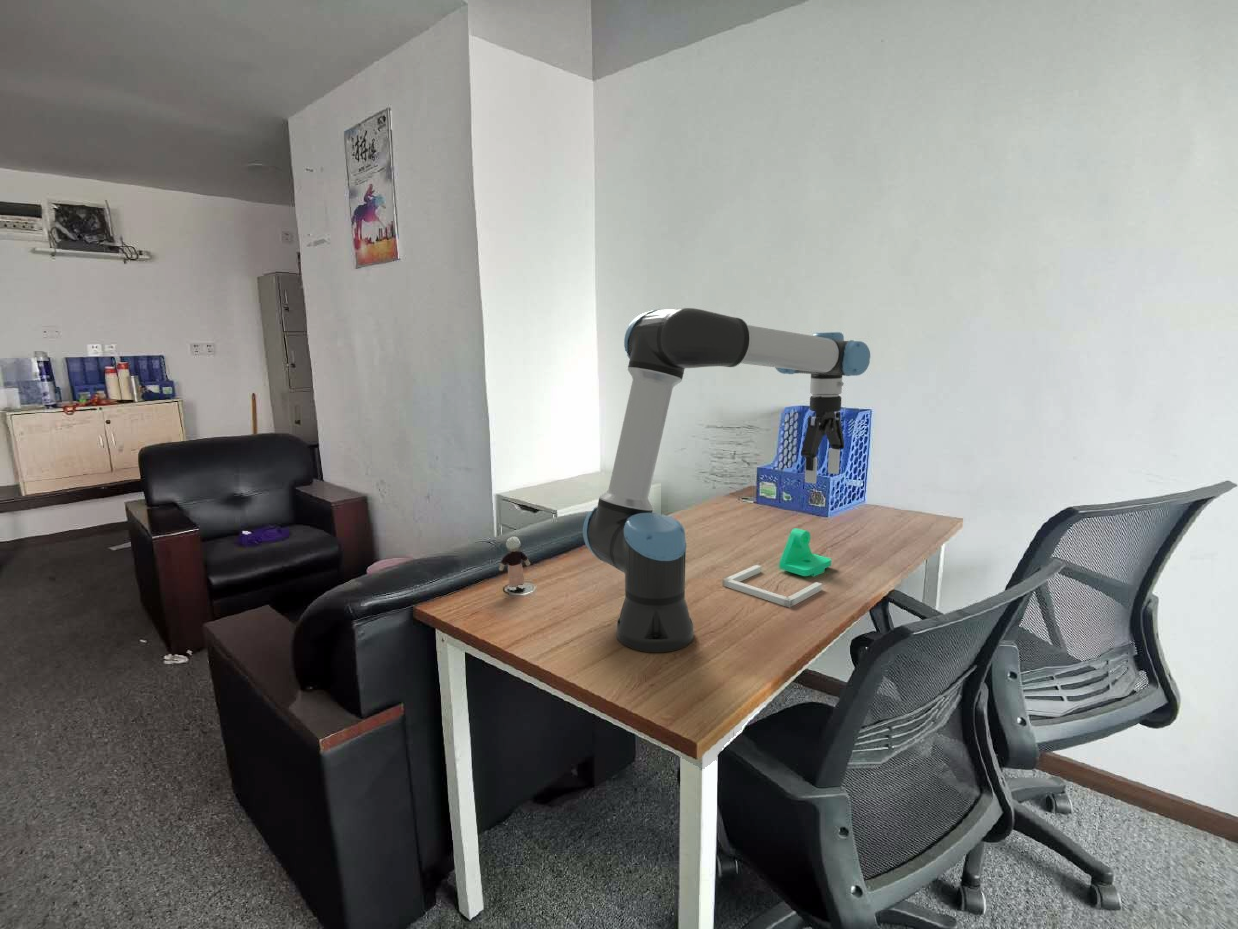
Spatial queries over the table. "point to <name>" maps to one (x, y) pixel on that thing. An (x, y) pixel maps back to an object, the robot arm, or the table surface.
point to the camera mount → (802, 556)
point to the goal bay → (789, 601)
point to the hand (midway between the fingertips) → (822, 478)
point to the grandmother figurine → (514, 562)
